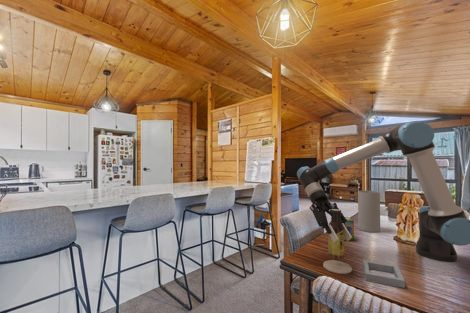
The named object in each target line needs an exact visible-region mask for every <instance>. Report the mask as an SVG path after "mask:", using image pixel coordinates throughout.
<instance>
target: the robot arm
mask: <svg viewBox="0 0 470 313" xmlns="http://www.w3.org/2000/svg"><path fill="white" fill-rule="evenodd" d="M434 138H435V131H434V129H433V127H432V126H431V125H430V124H429V123H426V122H425V121H420V120H414V121H413V120H412V121H408V122H406V123H403V124H401V125H399V126H398V125H397V126H396V127H394V128H393V129H391V130H390V131H388V132H386V133H384V134H381V135H379V136H378V137H377V139H374V140H372V141H370V142H367V143H365V144H362V145H360V146H357V147H355V148H352V149H350V150H348V151H345V152H342V153H340V154H337V155H335V156H332V157H329V158H326V159H325V160H322V161H319V162H318V163H317V164H316V165H314V166H313V167H310V166H308V165H307V166H301V167H299V169H298V170H297V171H296V176H297V178H298V181H299V183H300V184H301V186H302V187H303V189H304V191H305V193H306V194H307V197H308V198H309V200H310V202H311V205H310V206H309V209H310V211H311V212H312V214H313V216H314V218H315V221H316V223H317V224H318V227H321V228H322V229H324V230H325V231H326V233H327V235H328V234H329V235H330V237H331V238H332V240H333V242H336V241H337V240H338V237H337V235H336V233H335V232H334V230H333V228H332V226H331V225H329V222H328V218H327V214H328V215H329V216H331V209H339V207H338V205H337V203H336V202H333V203H331V201H329V199H328V195H327V194H326V192H325V190H324V189H323V188H322V186H321V184H320V181H322V180H324V179H326V178H328V177H330V176H332V175H335V173H337V172H339V171H340V170H342V169H344V168H347V167H350V166H353V165H355V164H358V163H361V162H363V161H366V160H369V159H371V158H374V157H377V156H379V155H382V154H384V153H386V154H390V153H392V152H396V151H401V154H402V155H403V157H406V158H407V159H408V160H409V162H410V164H411V165H410V166H412V169H413V171H414V173H415V176H416V179H417V181H418V184H419V185H420V187H421V190H422V192H423V194H424V197H425V199H426V202H427V205H428V206H427V205H426V206H425V205H424V206H420V207H419V212H418V214H419V215H418V218H419V222H418V223H419V224H418V225H419V237H418V239H417V242H416V244H415V248H414V249H415V252H416V253H417V254H418V255H419V256H422V257H425V258H428V259H431V260H435V261H440V262H441V261H442V262H455V261H458V253H457V251H456V250H457V249H455V246H460V247H461V246H467V245H470V219H468V217H467V215H466V213H465V212H464V209H463V208H462V206H458V205H457V204H456V203H455V201H454V198H453V196H452V193H451V192H450V189H449V187H448V185H447V182H446V180H445V177H444V176H443V173H442V171H441V169H440V166H439V164H438V162H437V160H436V158H435V155H434V153H433V151H434V149H435V148H436V146H435V144H434V142H433V140H434ZM339 210H340V209H339ZM345 217H346V216H344V214H343V212H341V222H342V225H343V227H344V236H345V238H346V240H345V241H347V242H349V241H351V240H350V239H351V238H352V236H351V235H350V233H349V231H348V228H347V227H346V225H345V223H346V222H347V220H346V218H345Z"/></svg>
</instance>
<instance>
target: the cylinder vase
mask: <svg viewBox="0 0 470 313" xmlns="http://www.w3.org/2000/svg"><path fill="white" fill-rule="evenodd" d="M357 214H358V215H357V218H358V219H357V220H358V222H357V223H358V224H357V225H358V226H357V227H358V229H359V230H361V231H362V232H366V233H379V232H380V231H381V192H380V191H374V190H358V191H357Z"/></svg>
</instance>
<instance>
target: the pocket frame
mask: <svg viewBox="0 0 470 313" xmlns="http://www.w3.org/2000/svg"><path fill="white" fill-rule="evenodd" d="M362 261H363V272H364V278H365V281H367V282H372V283H373V282H374V283H379V284H383V285H388V286H393V287H398V288H403V289H405V288H406V287H405V286H406V285H405V283H406V282H405V278H404V276H403V274H402V273H401V270H400V268H399V267H398V265H394V264H387V263H382V262H377V261H369V260H364V259H363V260H362ZM370 270H375V271H381V272H386V273H392V274H393V275H394V276H390V275H385V274H381V273H379V274H378V273H375V272H371V271H370Z"/></svg>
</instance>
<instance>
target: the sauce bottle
mask: <svg viewBox="0 0 470 313" xmlns="http://www.w3.org/2000/svg"><path fill="white" fill-rule="evenodd" d="M341 213H342V210H341V209H331V215H330V222H328V225H331V226H332V228H333V230H334V232H335V233H336V235H337V237H338V240H337V241H336V242H333V240H332V238H331V237H330V235H329V234H328V233H327V237H328V238H327V241H328V243H327V248H328V249H327V252H328V256H329V258H331V259H332V260H336V261H339V260H343V259H344V258H345V240H344V227H343V225H342V222H341Z"/></svg>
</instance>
